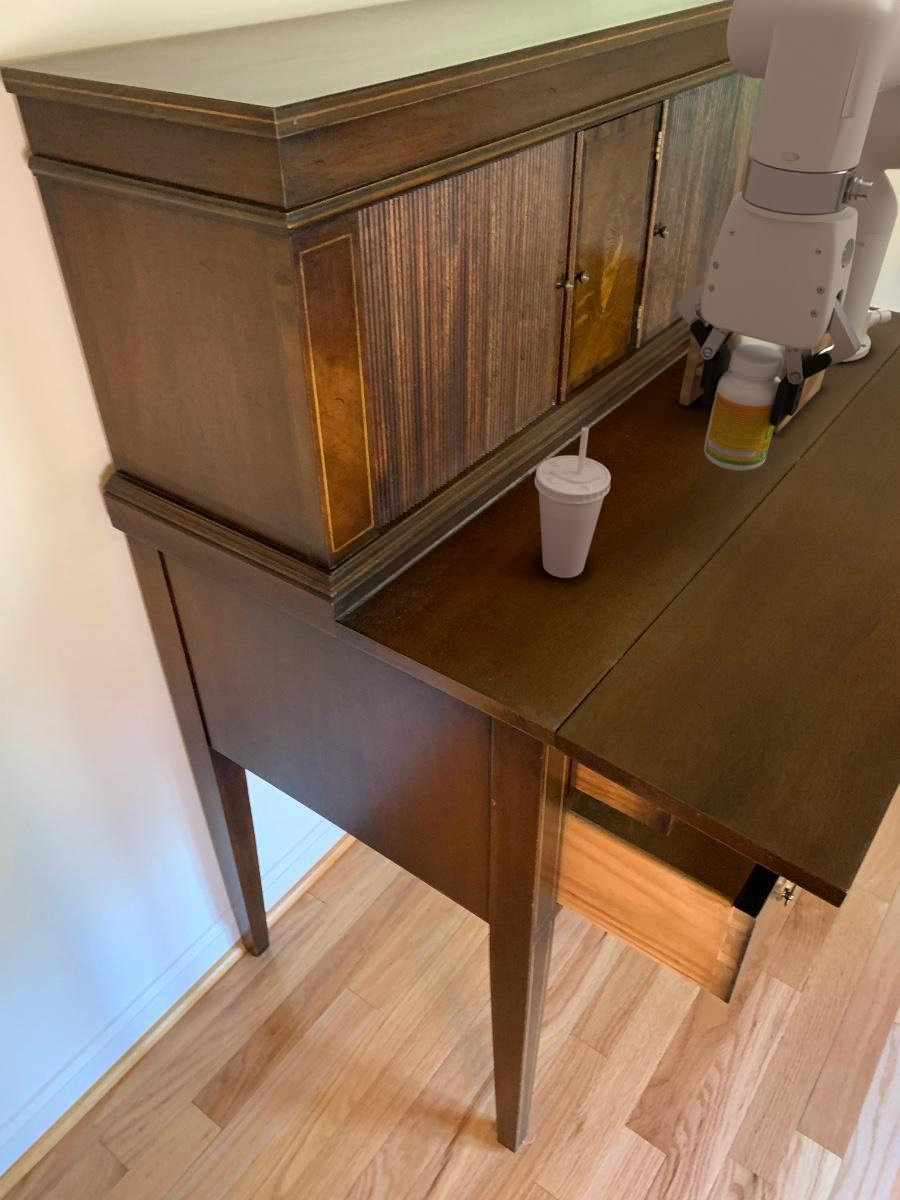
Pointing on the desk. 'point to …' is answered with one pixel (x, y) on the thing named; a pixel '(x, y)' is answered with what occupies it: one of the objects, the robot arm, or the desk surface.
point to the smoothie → (569, 508)
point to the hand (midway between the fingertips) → (745, 406)
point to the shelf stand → (696, 365)
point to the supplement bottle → (744, 409)
